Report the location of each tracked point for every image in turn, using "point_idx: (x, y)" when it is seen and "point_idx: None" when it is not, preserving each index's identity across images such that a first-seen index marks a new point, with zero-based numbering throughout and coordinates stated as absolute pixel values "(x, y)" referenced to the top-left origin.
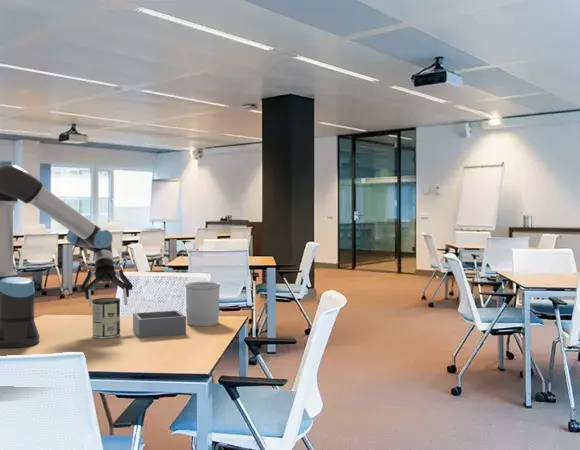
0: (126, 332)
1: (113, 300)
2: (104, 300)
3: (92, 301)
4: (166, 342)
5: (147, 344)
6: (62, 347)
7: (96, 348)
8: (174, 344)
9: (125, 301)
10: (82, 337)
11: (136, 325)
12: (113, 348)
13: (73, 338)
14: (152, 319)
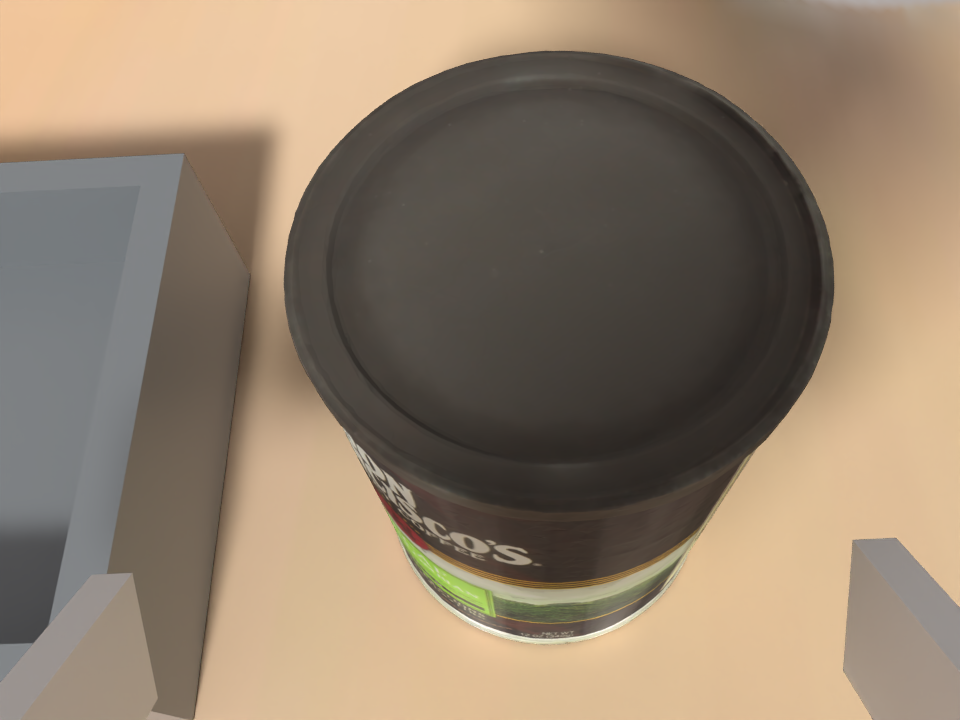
0: (298, 608)
1: (429, 150)
2: (589, 198)
3: (814, 214)
4: (100, 72)
5: (252, 53)
6: (924, 131)
7: (639, 38)
8: (76, 7)
9: (133, 591)
10: (808, 490)
11: (193, 381)
12: (514, 9)
13: (904, 469)
14: (32, 167)
